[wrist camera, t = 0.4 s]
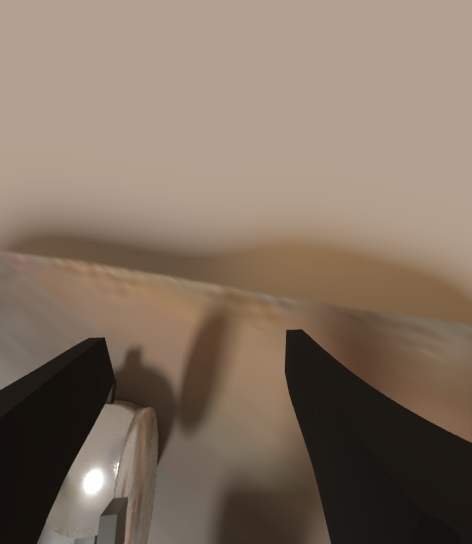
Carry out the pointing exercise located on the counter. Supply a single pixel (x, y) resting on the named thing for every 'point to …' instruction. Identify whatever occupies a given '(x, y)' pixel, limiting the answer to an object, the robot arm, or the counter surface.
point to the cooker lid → (133, 485)
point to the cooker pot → (93, 474)
